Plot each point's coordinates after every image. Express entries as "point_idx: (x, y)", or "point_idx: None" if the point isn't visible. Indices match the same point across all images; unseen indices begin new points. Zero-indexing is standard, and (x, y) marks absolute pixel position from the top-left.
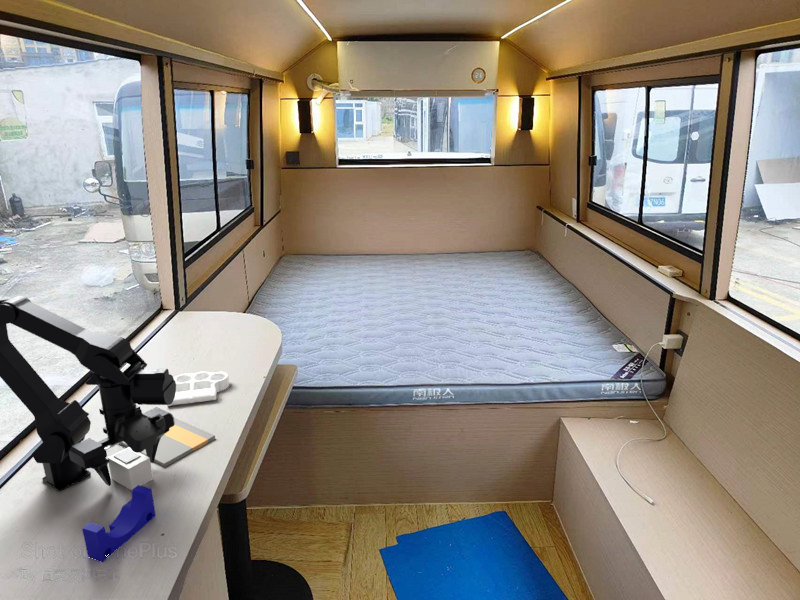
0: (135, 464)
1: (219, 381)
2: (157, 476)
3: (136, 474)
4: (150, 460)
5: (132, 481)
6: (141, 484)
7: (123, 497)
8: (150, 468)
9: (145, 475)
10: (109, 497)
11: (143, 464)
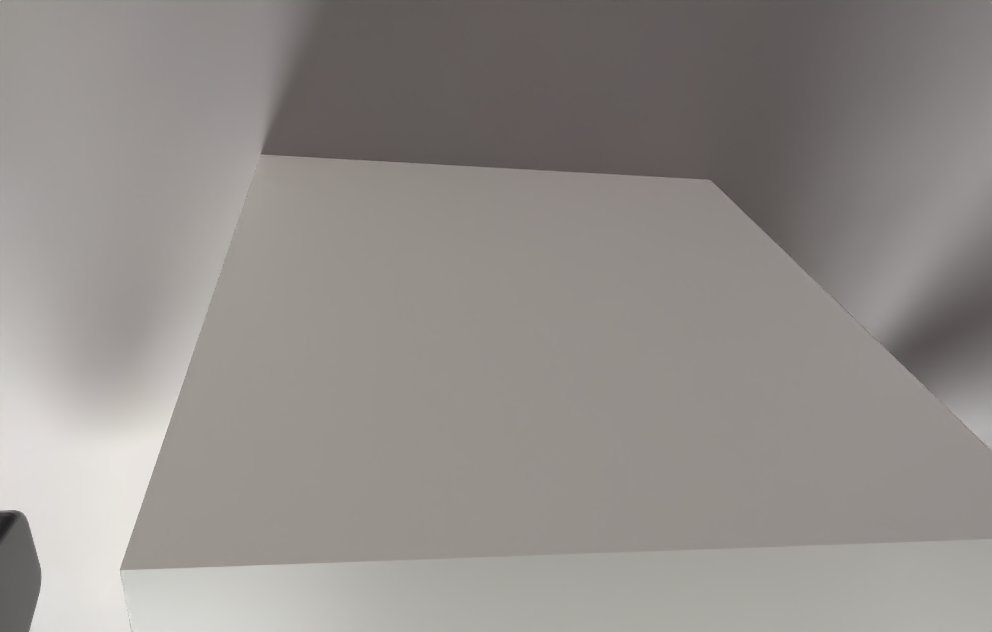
0: (778, 581)
1: None
2: (146, 146)
3: (689, 321)
4: (15, 578)
5: (761, 260)
6: (523, 179)
7: (908, 147)
8: (245, 286)
9: (422, 236)
10: (943, 328)
11: (461, 449)
